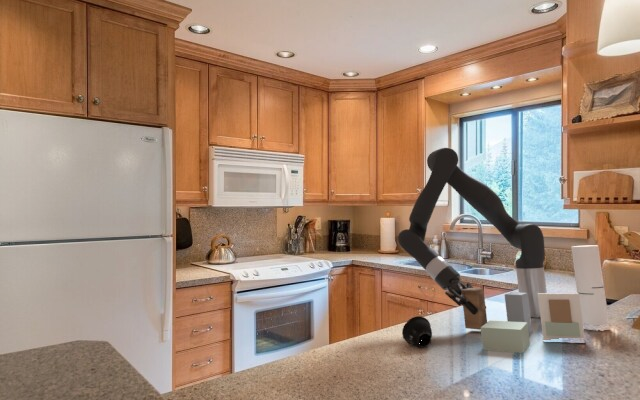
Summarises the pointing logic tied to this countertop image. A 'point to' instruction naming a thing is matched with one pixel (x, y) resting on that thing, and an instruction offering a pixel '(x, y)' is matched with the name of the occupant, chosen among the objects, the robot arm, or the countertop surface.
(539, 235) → the robot arm
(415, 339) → the small rounded object
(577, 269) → the cylindrical container
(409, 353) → the countertop surface
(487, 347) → the sage base block
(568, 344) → the countertop surface
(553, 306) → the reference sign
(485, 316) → the walnut block
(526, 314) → the slate block
